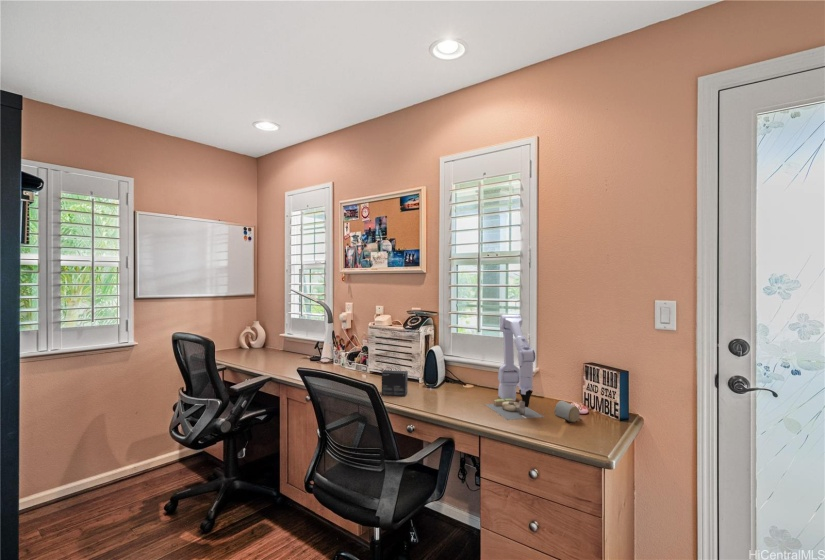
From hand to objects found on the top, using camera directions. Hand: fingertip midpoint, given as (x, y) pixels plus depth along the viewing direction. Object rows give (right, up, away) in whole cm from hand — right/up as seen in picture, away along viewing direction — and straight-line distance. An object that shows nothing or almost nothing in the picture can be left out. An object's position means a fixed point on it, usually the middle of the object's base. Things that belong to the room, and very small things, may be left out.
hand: (525, 406), depth 180 cm
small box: (-60, -4, +34) cm, 69 cm away
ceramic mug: (+18, -5, -2) cm, 19 cm away
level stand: (-4, -5, +4) cm, 8 cm away
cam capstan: (-4, -3, +4) cm, 6 cm away
